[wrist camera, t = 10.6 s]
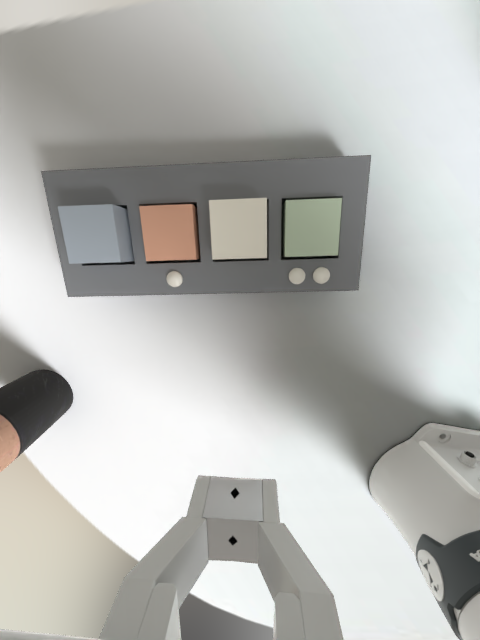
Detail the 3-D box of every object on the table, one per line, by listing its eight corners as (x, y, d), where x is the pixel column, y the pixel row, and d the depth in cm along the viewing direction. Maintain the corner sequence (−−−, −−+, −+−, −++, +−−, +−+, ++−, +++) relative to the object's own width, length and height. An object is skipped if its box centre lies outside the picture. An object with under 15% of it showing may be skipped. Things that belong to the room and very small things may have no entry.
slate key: (132, 211, 26) (112, 204, 22) (139, 260, 27) (120, 262, 23) (85, 212, 26) (57, 206, 22) (94, 261, 28) (69, 263, 24)
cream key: (264, 205, 25) (266, 197, 21) (264, 256, 27) (267, 257, 23) (215, 207, 26) (208, 200, 22) (217, 258, 27) (212, 259, 23)
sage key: (328, 205, 26) (342, 197, 23) (325, 254, 28) (338, 255, 24) (280, 207, 27) (285, 200, 23) (280, 256, 28) (284, 256, 24)
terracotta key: (200, 210, 27) (192, 203, 23) (203, 258, 28) (196, 259, 25) (155, 212, 27) (139, 206, 23) (160, 259, 29) (146, 261, 25)
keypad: (353, 169, 26) (372, 153, 22) (344, 285, 29) (359, 290, 25) (70, 182, 28) (38, 170, 23) (90, 291, 31) (65, 297, 27)
